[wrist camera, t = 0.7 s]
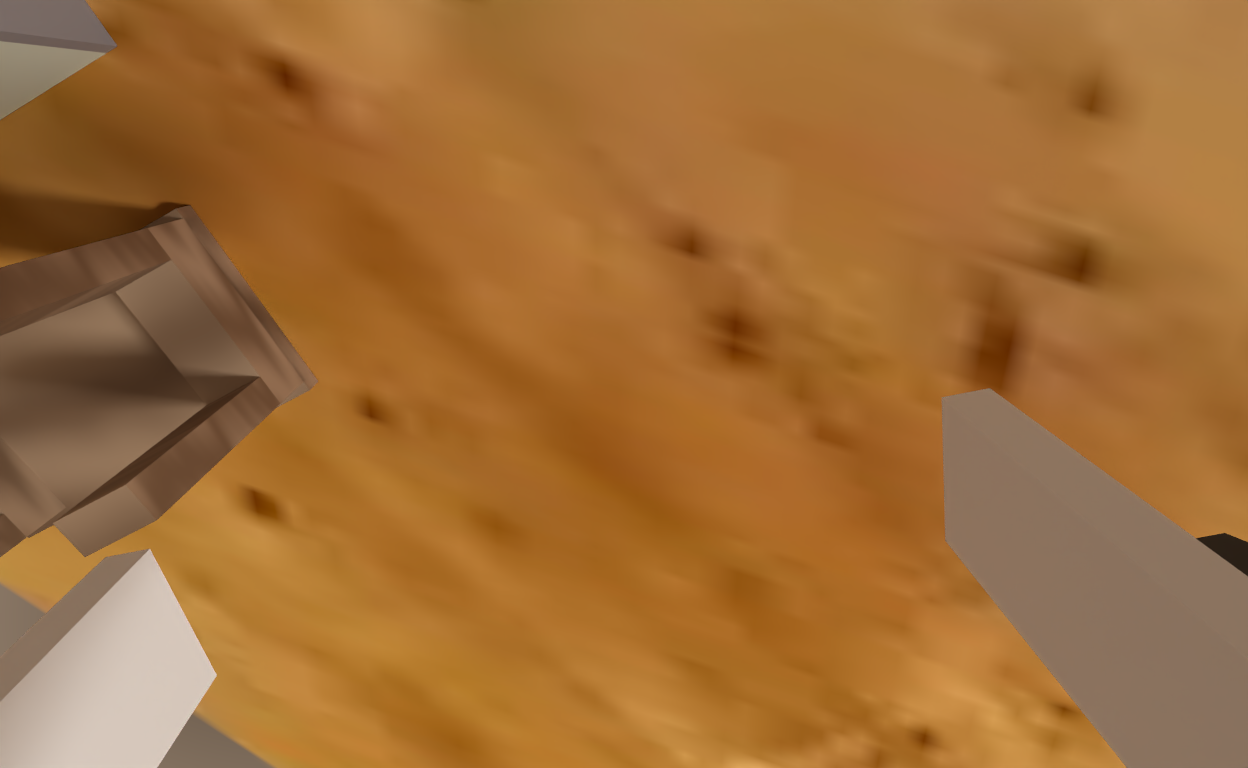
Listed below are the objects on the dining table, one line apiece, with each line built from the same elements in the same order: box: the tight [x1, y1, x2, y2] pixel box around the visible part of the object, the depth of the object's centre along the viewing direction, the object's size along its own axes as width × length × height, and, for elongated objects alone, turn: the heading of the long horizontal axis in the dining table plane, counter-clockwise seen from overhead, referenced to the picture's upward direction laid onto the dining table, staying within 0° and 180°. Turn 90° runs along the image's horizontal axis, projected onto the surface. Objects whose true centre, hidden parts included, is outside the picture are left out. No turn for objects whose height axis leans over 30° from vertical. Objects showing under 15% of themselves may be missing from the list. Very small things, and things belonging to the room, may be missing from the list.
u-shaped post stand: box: [0, 205, 318, 557], centre depth 30 cm, size 10×18×14 cm, turn 117°
